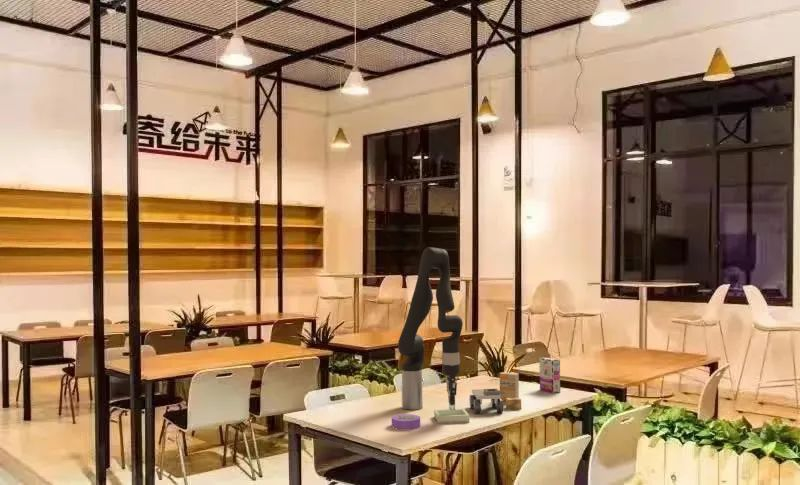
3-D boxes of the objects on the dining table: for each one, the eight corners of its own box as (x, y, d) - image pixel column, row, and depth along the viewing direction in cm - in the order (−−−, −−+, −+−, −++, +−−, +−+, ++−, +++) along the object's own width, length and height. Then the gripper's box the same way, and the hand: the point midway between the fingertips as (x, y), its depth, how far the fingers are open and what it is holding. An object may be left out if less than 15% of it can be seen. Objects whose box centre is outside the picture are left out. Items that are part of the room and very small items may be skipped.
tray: (438, 423, 278) (438, 416, 278) (434, 416, 290) (434, 409, 290) (469, 422, 279) (469, 415, 279) (464, 415, 291) (464, 408, 291)
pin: (448, 411, 283) (448, 387, 284) (447, 409, 286) (447, 386, 287) (456, 410, 284) (456, 387, 284) (455, 409, 287) (454, 385, 287)
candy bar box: (561, 392, 339) (560, 359, 339) (553, 393, 336) (552, 360, 337) (547, 388, 349) (546, 356, 349) (539, 389, 347) (538, 357, 347)
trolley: (476, 414, 293) (476, 392, 293) (469, 406, 309) (469, 385, 309) (503, 413, 294) (503, 392, 294) (495, 406, 310) (495, 385, 310)
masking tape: (426, 426, 276) (426, 416, 276) (407, 431, 267) (407, 422, 267) (404, 421, 283) (404, 412, 284) (385, 427, 275) (385, 417, 275)
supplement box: (499, 401, 320) (498, 373, 321) (502, 399, 325) (502, 371, 325) (516, 402, 316) (515, 374, 317) (519, 400, 321) (518, 372, 321)
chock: (508, 409, 302) (507, 399, 302) (506, 407, 306) (505, 398, 306) (521, 409, 303) (521, 399, 303) (519, 407, 307) (518, 397, 307)
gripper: (439, 360, 292) (440, 401, 292) (444, 365, 278) (445, 408, 278) (456, 360, 293) (457, 400, 292) (462, 365, 279) (463, 407, 278)
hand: (451, 403), depth 285 cm, fingers closed on pin, 2 cm apart
